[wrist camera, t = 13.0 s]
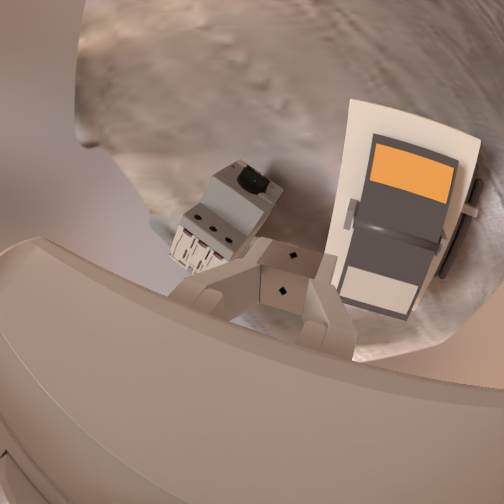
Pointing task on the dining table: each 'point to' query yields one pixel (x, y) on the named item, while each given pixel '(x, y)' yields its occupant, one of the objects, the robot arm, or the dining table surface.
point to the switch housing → (356, 161)
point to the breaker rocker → (396, 226)
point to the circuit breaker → (224, 218)
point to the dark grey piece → (469, 211)
